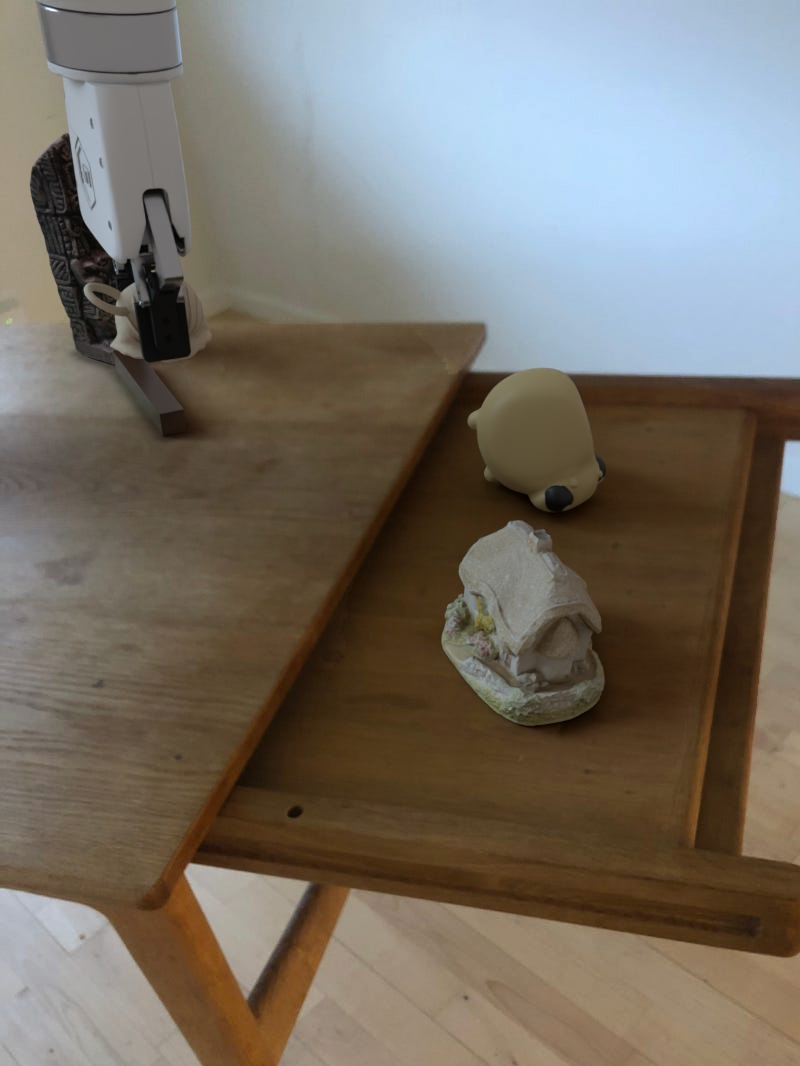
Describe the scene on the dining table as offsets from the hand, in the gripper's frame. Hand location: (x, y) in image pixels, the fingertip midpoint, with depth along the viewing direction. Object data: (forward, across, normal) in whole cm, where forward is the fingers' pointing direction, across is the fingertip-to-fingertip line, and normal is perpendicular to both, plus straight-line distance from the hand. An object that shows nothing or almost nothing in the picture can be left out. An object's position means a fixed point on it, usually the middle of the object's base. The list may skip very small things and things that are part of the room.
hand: (156, 341), depth 67 cm
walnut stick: (+14, -20, +3) cm, 24 cm away
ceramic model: (+14, +26, +16) cm, 34 cm away
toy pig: (+14, +8, +28) cm, 33 cm away
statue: (+15, -32, +3) cm, 35 cm away
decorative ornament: (+1, 0, 0) cm, 1 cm away
